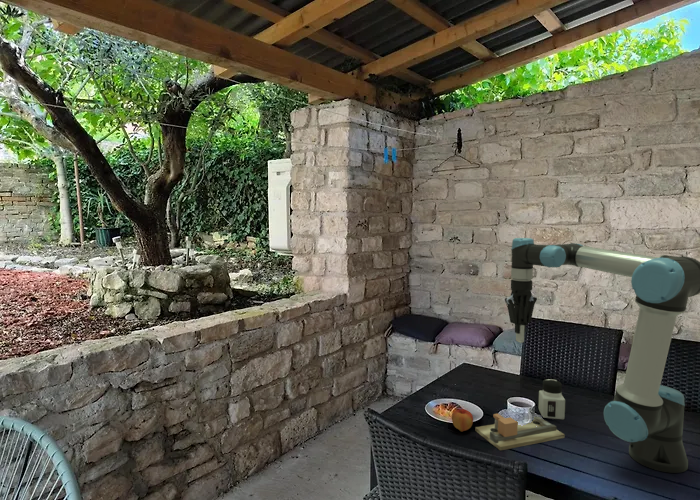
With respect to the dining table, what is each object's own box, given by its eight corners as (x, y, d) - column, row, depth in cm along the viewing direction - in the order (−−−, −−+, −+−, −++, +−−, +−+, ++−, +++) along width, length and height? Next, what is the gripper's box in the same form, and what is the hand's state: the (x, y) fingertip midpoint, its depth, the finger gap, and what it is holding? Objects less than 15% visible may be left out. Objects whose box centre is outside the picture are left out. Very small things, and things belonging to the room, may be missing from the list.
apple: (460, 436, 154) (461, 414, 153) (447, 427, 160) (447, 406, 160) (477, 432, 157) (477, 410, 156) (463, 423, 164) (464, 402, 163)
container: (564, 419, 166) (566, 385, 165) (542, 417, 168) (543, 384, 167) (559, 410, 174) (560, 378, 173) (538, 409, 175) (539, 376, 174)
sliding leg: (517, 438, 149) (517, 421, 149) (504, 440, 148) (505, 424, 147) (501, 426, 157) (501, 411, 157) (489, 429, 156) (489, 413, 155)
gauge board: (564, 437, 153) (564, 427, 153) (500, 450, 145) (500, 439, 144) (535, 420, 166) (535, 410, 166) (475, 430, 158) (475, 420, 158)
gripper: (529, 277, 172) (527, 337, 174) (500, 278, 168) (498, 340, 170) (543, 280, 165) (541, 342, 167) (513, 281, 161) (512, 346, 163)
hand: (519, 341), depth 168 cm, fingers closed
